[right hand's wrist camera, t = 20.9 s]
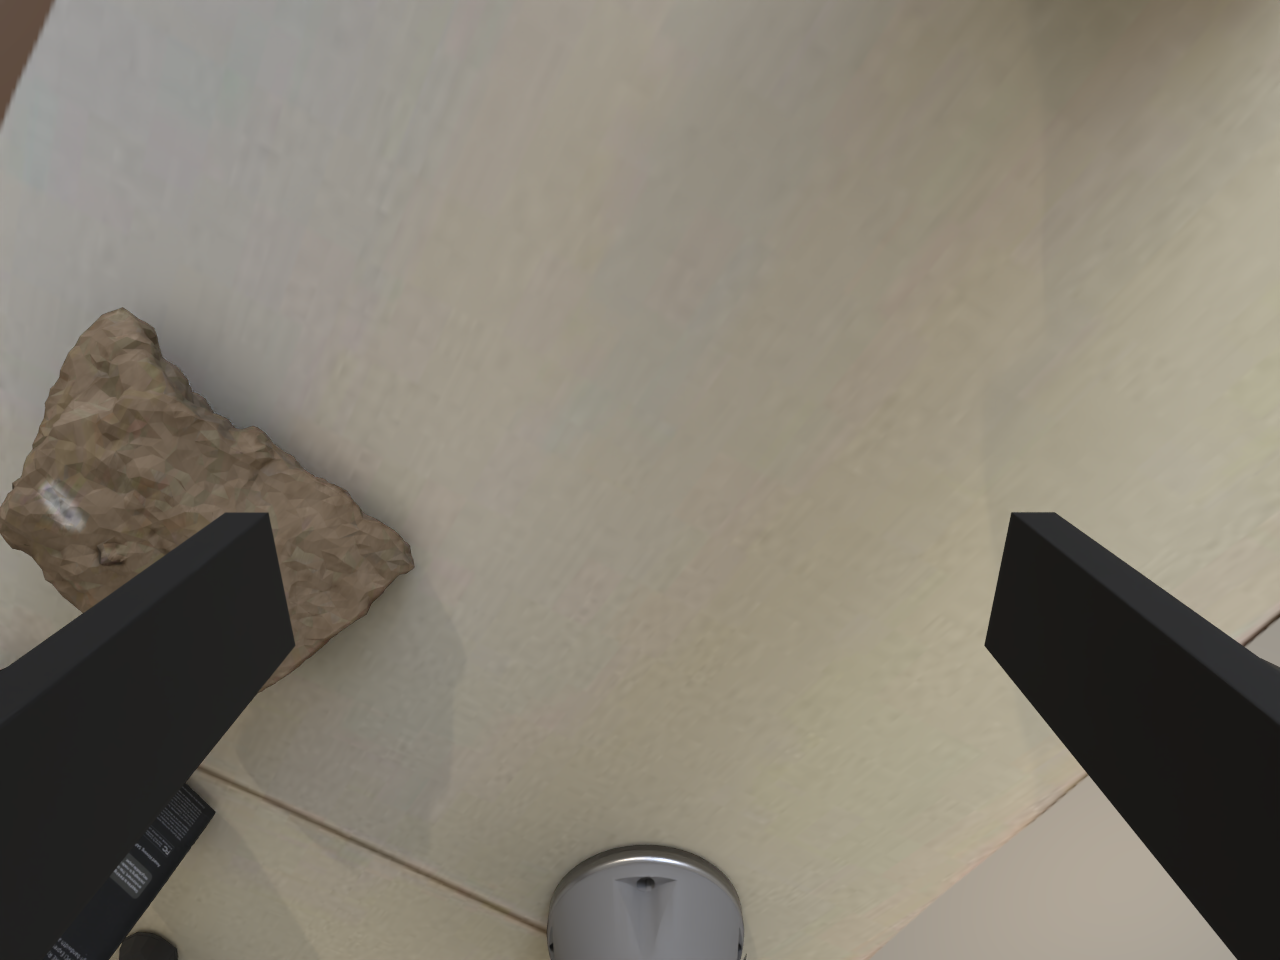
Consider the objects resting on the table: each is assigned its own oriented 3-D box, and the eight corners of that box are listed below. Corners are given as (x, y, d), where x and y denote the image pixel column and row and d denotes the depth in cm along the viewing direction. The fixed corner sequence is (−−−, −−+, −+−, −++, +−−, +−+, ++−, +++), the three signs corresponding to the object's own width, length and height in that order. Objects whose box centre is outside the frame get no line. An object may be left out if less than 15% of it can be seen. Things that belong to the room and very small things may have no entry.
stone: (-48, 486, 39) (-126, 526, 34) (132, 296, 39) (84, 304, 33) (279, 679, 48) (259, 736, 42) (429, 525, 47) (429, 562, 42)
